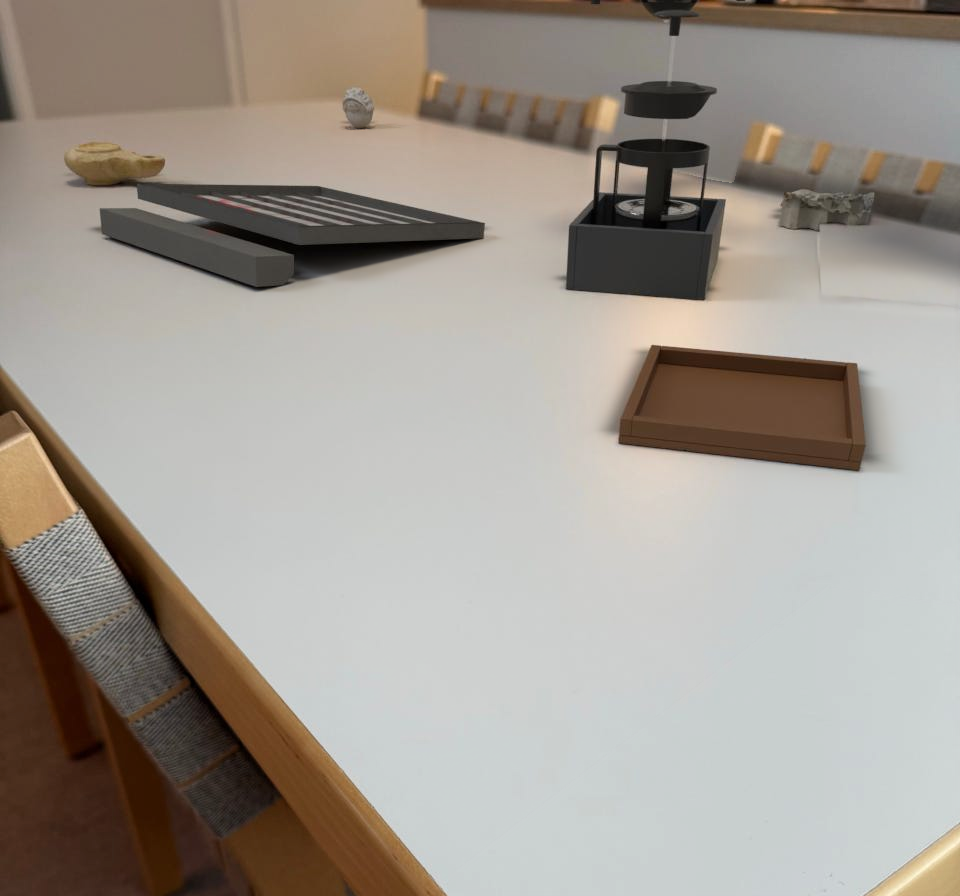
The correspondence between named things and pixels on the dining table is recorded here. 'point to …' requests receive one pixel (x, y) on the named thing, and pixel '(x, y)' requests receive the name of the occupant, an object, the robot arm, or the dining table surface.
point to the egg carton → (824, 209)
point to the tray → (747, 407)
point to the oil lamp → (110, 163)
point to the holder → (644, 251)
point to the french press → (659, 145)
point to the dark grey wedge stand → (270, 225)
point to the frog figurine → (358, 107)
